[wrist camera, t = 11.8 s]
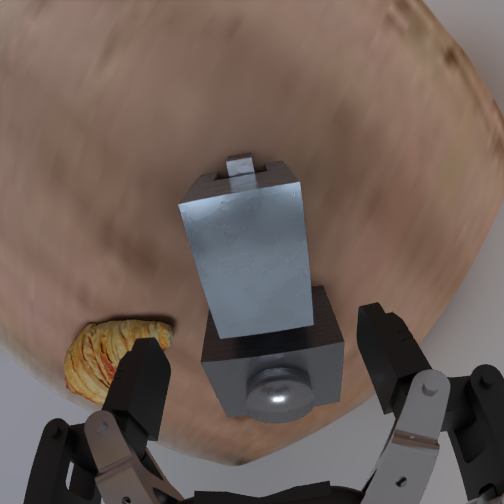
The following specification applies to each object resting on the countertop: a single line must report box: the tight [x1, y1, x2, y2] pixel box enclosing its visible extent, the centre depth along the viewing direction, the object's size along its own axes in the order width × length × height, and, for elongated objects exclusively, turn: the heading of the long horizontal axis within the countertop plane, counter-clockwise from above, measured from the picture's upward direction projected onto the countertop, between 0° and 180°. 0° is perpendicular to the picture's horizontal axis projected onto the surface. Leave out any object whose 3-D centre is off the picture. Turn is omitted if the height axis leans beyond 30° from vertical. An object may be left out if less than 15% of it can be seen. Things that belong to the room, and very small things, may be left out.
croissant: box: [64, 320, 174, 405], centre depth 26 cm, size 21×10×8 cm, turn 127°
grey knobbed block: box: [201, 153, 344, 423], centre depth 20 cm, size 20×10×9 cm, turn 10°
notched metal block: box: [178, 161, 314, 339], centre depth 18 cm, size 9×6×7 cm, turn 10°
